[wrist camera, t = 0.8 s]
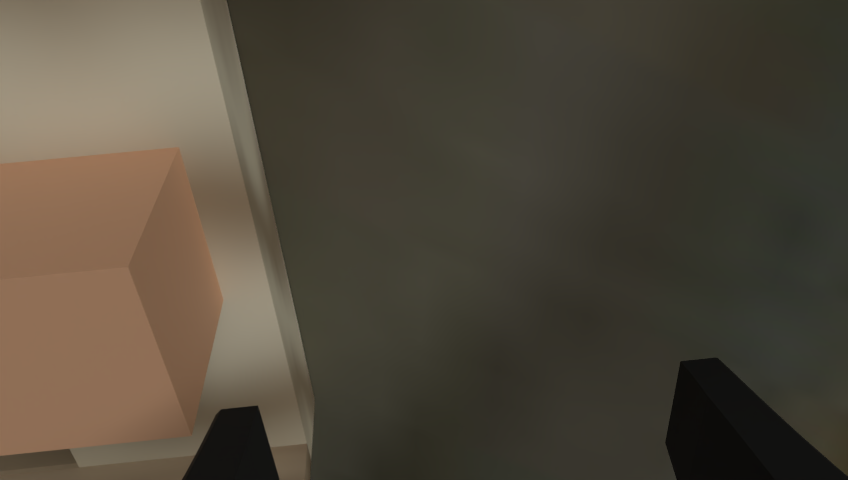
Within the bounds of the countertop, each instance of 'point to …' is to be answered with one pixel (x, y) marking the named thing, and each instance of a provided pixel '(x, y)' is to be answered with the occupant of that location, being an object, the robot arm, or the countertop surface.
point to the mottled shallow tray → (211, 187)
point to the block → (102, 301)
